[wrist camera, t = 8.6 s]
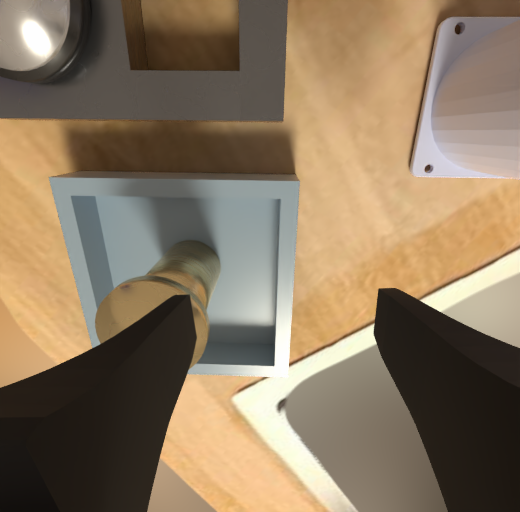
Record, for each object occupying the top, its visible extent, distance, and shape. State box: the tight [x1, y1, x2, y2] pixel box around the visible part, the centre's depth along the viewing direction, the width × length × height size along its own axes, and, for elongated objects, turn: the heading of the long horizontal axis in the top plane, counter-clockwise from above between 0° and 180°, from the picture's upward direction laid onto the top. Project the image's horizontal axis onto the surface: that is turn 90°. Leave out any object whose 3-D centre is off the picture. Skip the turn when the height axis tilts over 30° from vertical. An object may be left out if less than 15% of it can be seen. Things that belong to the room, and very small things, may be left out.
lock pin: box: [95, 240, 221, 369], centre depth 17 cm, size 5×5×8 cm
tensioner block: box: [0, 0, 288, 122], centre depth 14 cm, size 16×10×4 cm, turn 89°
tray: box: [49, 171, 300, 377], centre depth 21 cm, size 14×14×3 cm
